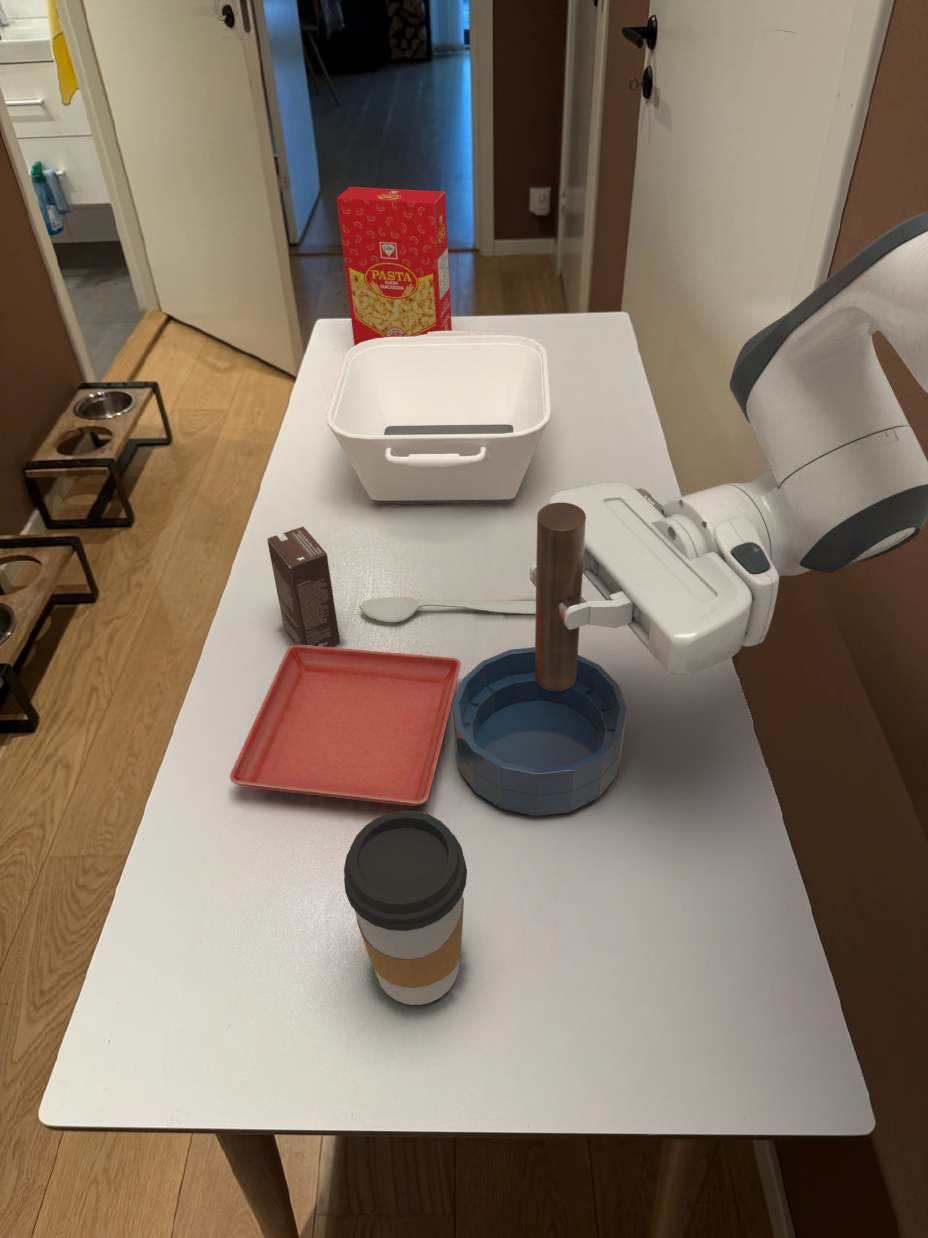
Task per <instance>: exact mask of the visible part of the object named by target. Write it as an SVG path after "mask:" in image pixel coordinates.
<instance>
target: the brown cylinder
mask: <svg viewBox="0 0 928 1238" xmlns="http://www.w3.org/2000/svg"><path fill="white" fill-rule="evenodd" d="M585 524H586V515H585V512H584V511H583V510H582V509H581V508H580V507H578V506H576V505H574V504H570V503H563V502H559V503H552V504H549V505H548V504H546V505H545V506H543V507H542V508H540V509H539V511H538V512H537V515H536V562H535V563H536V587H535V601H536V614H535V624H534V625H535V630H534V631H535V633H534V634H535V636H534V637H535V638H534V647H535V680H536V682H537V683H538V684H539V685H540V686H541V687H543V688H545V689H547V690H551V691H562V690H565V689H568V688H570V687H571V686H572V685H573V684H574V683H575V681H576V677H577V660H578V655H579V640H580V627H578V628H575V629H571V630H570V629H568V628H567V627H566V625H565V624H564V623H563V621H562V620H561V619H560V617H559V616H558V613H559V604H560V602H561V601H563V600H565V599H571V598H572V597H574V596H577V595H581V596H582V591H583V575H584V574H583V558H584V541H585Z"/></svg>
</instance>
